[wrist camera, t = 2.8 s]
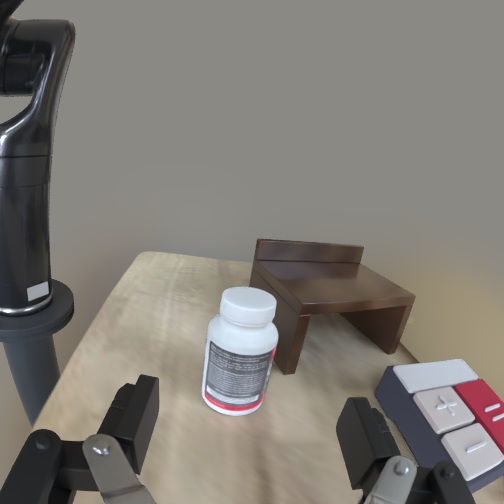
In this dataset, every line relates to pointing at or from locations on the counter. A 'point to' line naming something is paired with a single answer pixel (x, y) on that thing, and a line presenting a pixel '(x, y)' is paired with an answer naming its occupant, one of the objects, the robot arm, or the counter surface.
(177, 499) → the counter surface
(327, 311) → the spice shelf
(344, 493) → the counter surface
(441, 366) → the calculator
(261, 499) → the counter surface
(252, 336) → the pill bottle
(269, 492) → the counter surface
